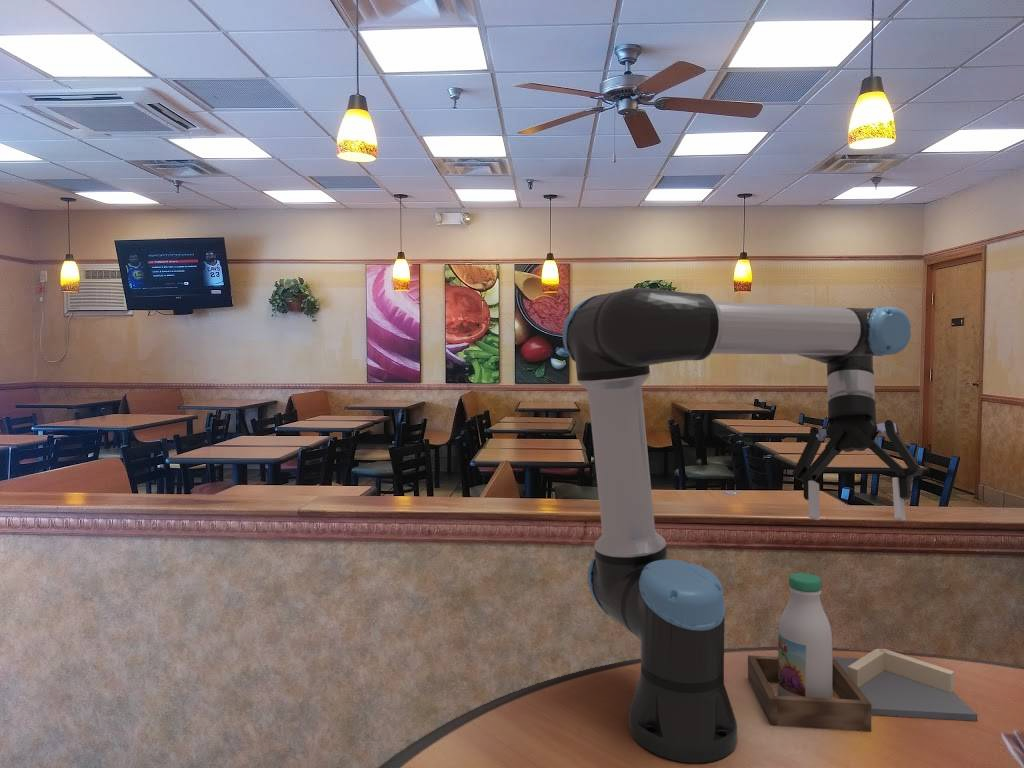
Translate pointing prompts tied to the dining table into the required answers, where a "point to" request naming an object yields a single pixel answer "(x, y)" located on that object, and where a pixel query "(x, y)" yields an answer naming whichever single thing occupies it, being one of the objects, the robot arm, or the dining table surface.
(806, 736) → the dining table surface
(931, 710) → the v cradle
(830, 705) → the walnut collar
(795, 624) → the milk bottle
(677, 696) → the robot arm
